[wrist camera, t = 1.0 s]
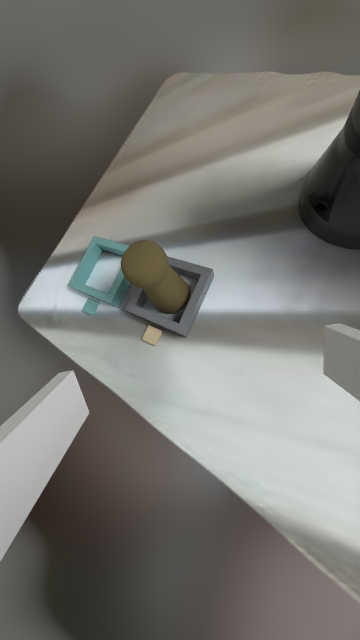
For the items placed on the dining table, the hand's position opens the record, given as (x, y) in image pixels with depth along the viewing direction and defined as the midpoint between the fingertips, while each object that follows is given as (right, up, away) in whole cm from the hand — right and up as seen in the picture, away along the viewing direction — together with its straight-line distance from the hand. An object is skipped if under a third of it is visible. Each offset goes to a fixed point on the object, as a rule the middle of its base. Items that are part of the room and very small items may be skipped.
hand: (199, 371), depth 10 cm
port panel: (-9, +7, +22) cm, 25 cm away
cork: (-2, +6, +20) cm, 21 cm away
